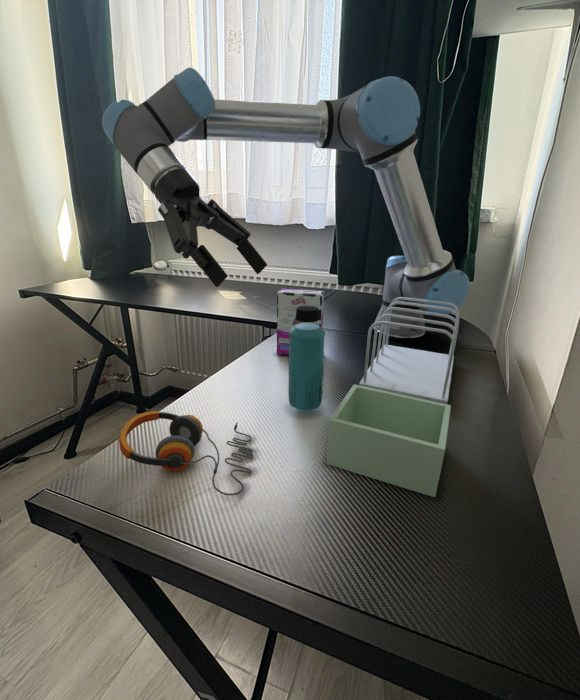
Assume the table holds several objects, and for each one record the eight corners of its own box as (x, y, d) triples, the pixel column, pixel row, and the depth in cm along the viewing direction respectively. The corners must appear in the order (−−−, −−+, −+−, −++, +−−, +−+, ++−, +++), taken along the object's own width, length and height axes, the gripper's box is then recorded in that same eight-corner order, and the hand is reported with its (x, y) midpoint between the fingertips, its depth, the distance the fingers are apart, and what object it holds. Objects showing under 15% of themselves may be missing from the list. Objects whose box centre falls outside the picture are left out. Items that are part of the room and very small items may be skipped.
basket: (350, 422, 67) (353, 384, 64) (442, 446, 61) (451, 405, 58) (326, 464, 57) (329, 419, 54) (435, 497, 51) (445, 449, 48)
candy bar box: (321, 352, 98) (325, 290, 92) (319, 359, 94) (322, 294, 88) (280, 348, 100) (281, 287, 94) (275, 355, 96) (276, 291, 90)
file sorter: (382, 350, 100) (389, 293, 94) (452, 363, 94) (465, 302, 88) (358, 390, 79) (365, 319, 73) (446, 409, 72) (462, 333, 67)
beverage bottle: (322, 418, 68) (329, 312, 61) (286, 417, 68) (288, 311, 61) (320, 400, 74) (326, 302, 67) (287, 400, 74) (289, 301, 67)
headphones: (250, 483, 49) (95, 448, 47) (242, 514, 50) (93, 481, 49) (263, 415, 64) (147, 387, 63) (256, 440, 66) (143, 414, 65)
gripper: (202, 199, 80) (264, 277, 80) (103, 196, 59) (187, 302, 59) (222, 171, 76) (287, 253, 76) (123, 158, 55) (214, 272, 55)
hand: (244, 275), depth 67 cm, fingers open, 13 cm apart
